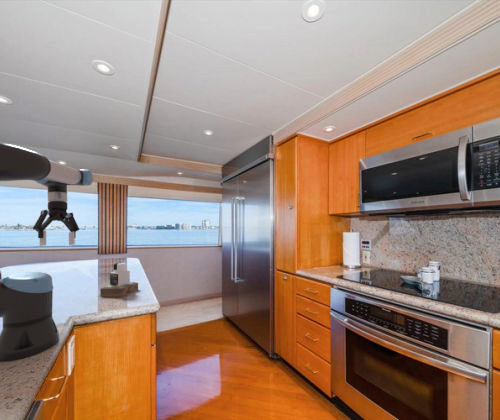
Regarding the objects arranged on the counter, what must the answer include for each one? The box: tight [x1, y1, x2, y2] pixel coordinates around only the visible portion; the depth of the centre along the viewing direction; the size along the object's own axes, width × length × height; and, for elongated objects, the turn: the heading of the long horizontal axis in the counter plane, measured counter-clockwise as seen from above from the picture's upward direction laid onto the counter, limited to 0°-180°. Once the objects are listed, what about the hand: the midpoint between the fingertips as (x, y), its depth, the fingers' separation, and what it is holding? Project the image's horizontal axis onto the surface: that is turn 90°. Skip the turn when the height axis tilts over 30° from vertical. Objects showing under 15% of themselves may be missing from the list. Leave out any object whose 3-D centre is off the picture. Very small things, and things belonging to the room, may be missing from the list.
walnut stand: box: [100, 281, 139, 298], centre depth 131 cm, size 13×13×4 cm
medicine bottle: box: [109, 261, 131, 287], centre depth 131 cm, size 7×7×12 cm
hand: (58, 245), depth 113 cm, fingers open, 13 cm apart
